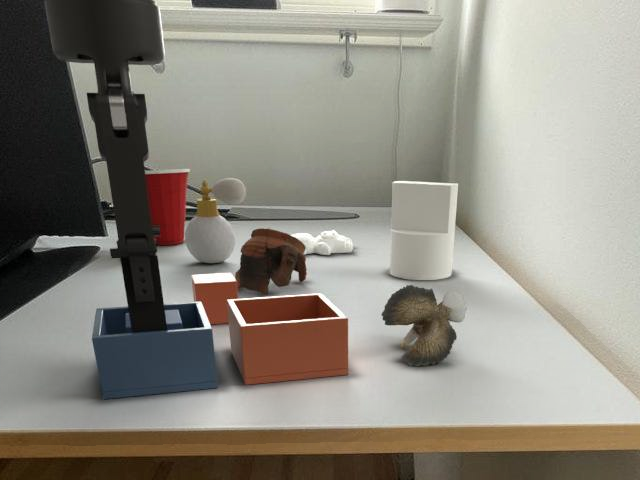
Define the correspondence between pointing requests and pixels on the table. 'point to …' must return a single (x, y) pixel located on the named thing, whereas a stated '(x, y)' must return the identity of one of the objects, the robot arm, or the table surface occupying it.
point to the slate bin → (154, 354)
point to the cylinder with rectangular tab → (422, 229)
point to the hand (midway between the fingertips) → (149, 326)
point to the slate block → (171, 320)
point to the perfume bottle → (213, 222)
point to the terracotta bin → (287, 338)
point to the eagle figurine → (425, 322)
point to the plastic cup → (168, 203)
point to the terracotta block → (215, 294)
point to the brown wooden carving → (270, 260)
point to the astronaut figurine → (325, 243)
